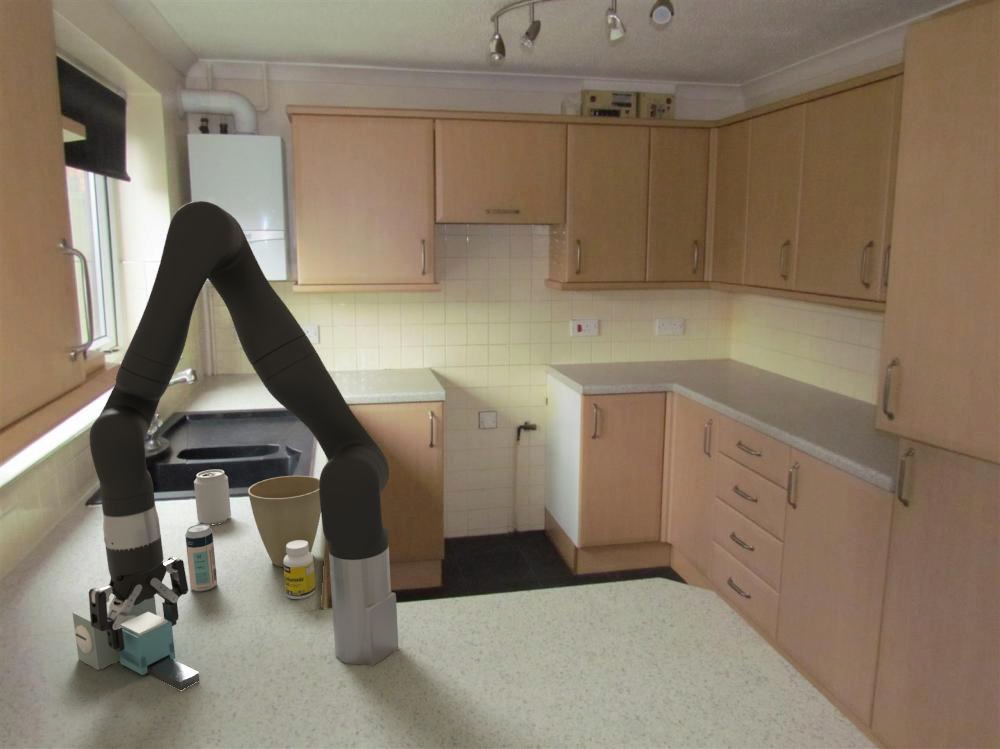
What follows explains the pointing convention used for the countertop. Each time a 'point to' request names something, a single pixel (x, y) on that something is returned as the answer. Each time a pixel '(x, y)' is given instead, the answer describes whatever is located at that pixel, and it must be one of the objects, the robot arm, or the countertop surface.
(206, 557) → the beer can
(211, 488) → the can
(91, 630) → the cabinet
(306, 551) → the supplement bottle
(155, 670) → the rail
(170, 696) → the countertop surface
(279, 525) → the plant pot
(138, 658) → the box
